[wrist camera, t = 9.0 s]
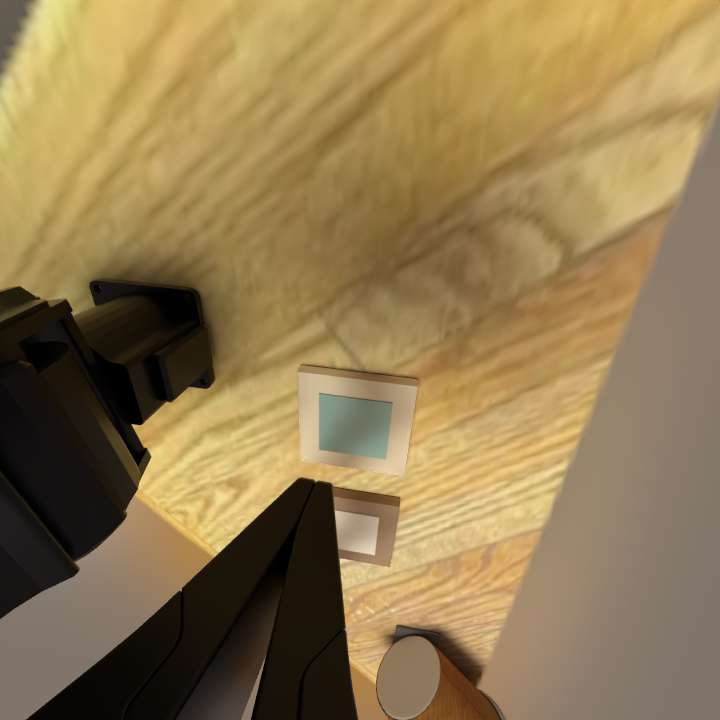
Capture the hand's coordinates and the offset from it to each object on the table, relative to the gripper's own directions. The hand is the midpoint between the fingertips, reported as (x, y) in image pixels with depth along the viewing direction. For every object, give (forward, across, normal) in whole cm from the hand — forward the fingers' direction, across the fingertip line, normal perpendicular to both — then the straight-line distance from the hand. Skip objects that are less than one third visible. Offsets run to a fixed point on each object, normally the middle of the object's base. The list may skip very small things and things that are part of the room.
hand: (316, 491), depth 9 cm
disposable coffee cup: (+9, -6, +31) cm, 32 cm away
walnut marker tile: (+12, 0, +17) cm, 21 cm away
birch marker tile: (+12, +1, +7) cm, 14 cm away
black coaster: (+12, -7, +32) cm, 35 cm away
